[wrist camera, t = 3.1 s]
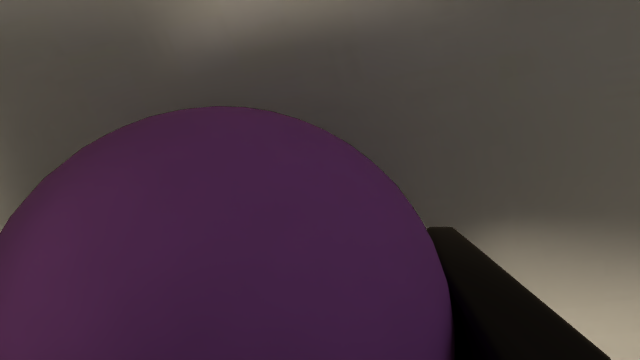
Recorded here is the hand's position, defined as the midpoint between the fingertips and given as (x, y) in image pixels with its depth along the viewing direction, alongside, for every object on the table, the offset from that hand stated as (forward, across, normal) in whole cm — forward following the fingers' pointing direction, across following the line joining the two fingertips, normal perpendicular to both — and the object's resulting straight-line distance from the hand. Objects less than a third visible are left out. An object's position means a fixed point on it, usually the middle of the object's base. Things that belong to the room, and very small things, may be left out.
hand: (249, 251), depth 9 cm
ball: (-2, 0, 0) cm, 2 cm away
